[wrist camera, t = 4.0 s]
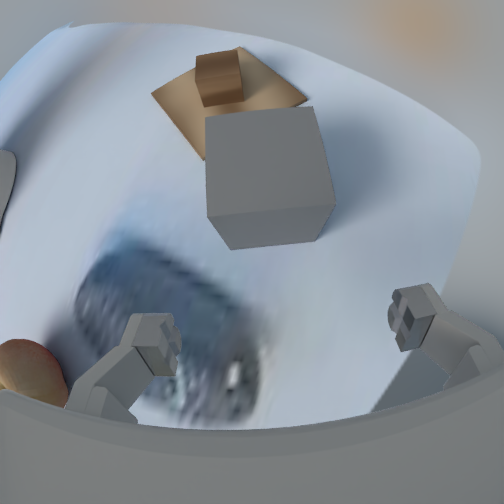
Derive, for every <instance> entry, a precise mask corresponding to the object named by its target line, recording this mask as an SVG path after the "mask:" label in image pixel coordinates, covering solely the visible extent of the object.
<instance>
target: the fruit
mask: <svg viewBox="0 0 504 504" xmlns="http://www.w3.org/2000/svg"><path fill="white" fill-rule="evenodd" d="M2 389H9V390H12V391H15V392H17V393H19V394H22V395H25V396H27V397H30V398H33V399H36V400H39V401H42V402H45V403H48V404H51V405H54V406H57V407H61V408H64V407H65V405H66V402H67V399H68V389H67V386H66V383H65V381H64V378H63V374H62V370H61V367H60V365H59V363H58V361H57V360H56V358H55V357H54V356H53V355H52V353H51V352H50V351H48V350H47V349H46V348H45V347H44V346H42V345H40V344H38V343H36V342H34V341H31V340H26V339H12V340H9V341H6V342H5V343H3V344H1V345H0V390H2Z"/></svg>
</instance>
